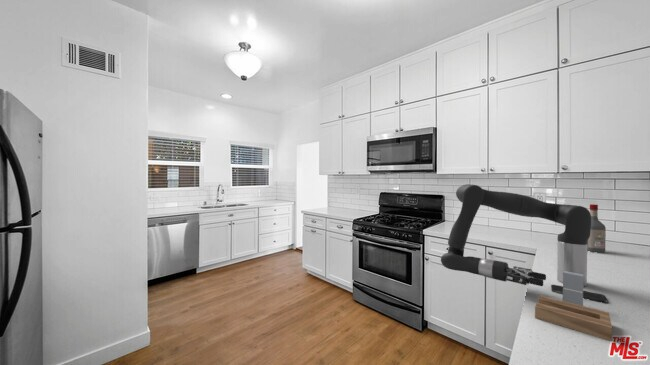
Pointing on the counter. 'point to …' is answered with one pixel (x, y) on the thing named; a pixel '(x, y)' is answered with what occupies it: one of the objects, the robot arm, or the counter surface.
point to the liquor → (596, 232)
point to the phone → (586, 294)
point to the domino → (573, 288)
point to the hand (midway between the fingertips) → (544, 280)
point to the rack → (574, 317)
